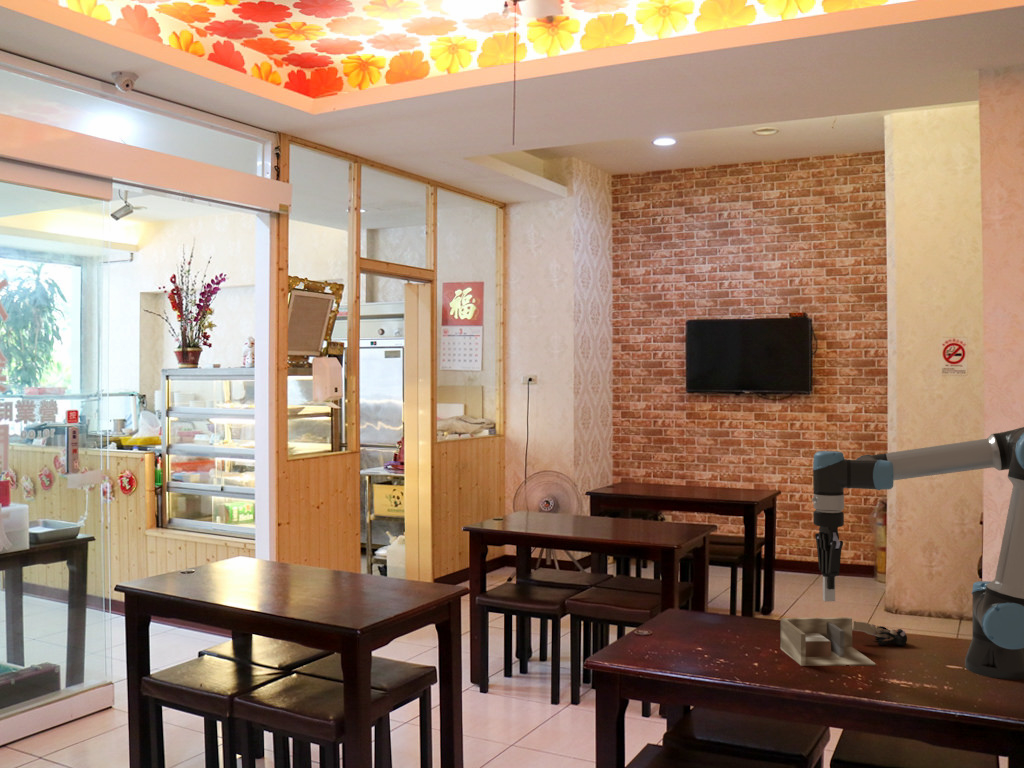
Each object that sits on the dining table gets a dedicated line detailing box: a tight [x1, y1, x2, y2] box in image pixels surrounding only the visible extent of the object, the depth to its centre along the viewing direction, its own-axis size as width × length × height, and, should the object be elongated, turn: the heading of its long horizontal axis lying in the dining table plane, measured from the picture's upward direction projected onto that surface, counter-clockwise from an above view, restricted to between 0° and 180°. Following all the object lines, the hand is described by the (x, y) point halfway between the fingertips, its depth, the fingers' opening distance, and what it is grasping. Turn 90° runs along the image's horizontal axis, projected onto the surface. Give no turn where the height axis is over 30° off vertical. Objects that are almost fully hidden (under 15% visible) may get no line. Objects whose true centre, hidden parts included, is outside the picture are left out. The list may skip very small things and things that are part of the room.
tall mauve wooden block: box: [805, 633, 831, 657], centre depth 248 cm, size 8×4×8 cm
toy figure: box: [852, 620, 908, 647], centre depth 260 cm, size 7×6×15 cm
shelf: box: [779, 616, 877, 667], centre depth 246 cm, size 20×16×9 cm
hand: (828, 600), depth 236 cm, fingers closed
